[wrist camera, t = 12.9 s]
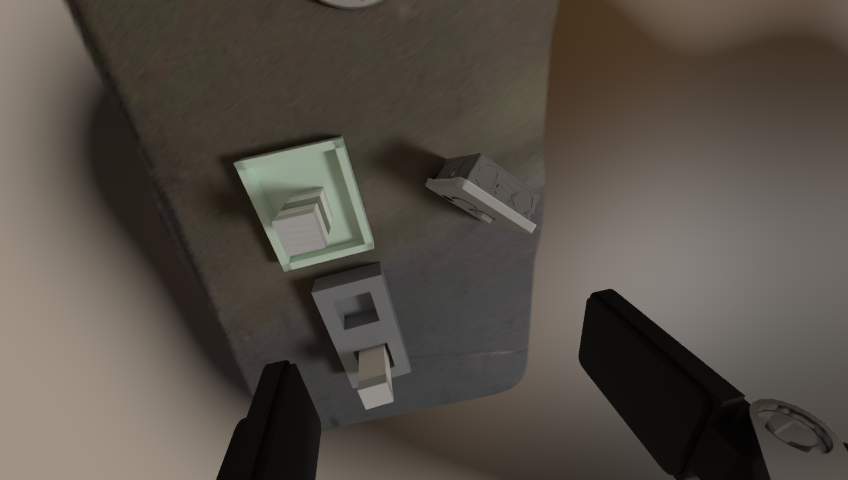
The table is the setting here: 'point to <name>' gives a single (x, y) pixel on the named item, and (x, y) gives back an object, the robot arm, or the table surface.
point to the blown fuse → (304, 222)
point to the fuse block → (360, 317)
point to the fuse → (375, 376)
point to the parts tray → (301, 171)
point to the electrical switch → (486, 192)
